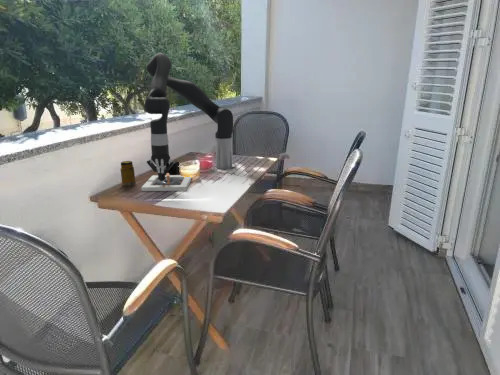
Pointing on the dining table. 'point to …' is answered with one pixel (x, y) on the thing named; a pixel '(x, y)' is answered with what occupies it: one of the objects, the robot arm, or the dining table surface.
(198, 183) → the dining table surface
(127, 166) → the condiment
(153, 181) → the panel
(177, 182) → the dial
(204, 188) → the dining table surface
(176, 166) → the digital camera
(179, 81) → the robot arm
